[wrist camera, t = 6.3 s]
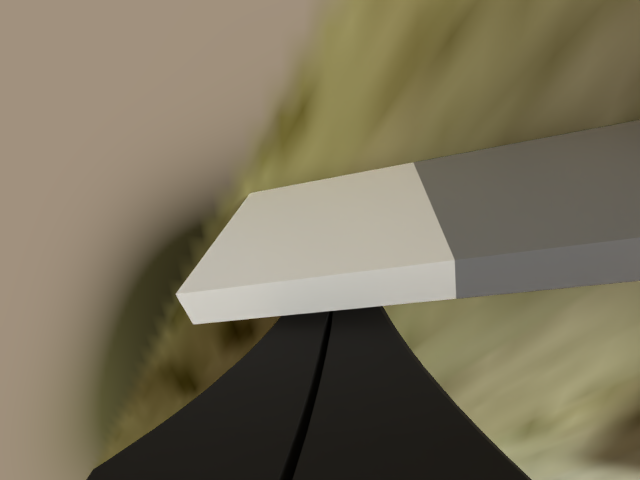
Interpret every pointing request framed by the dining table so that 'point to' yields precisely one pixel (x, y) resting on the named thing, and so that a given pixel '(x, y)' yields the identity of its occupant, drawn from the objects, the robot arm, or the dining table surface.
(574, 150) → the side door
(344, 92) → the dining table surface
